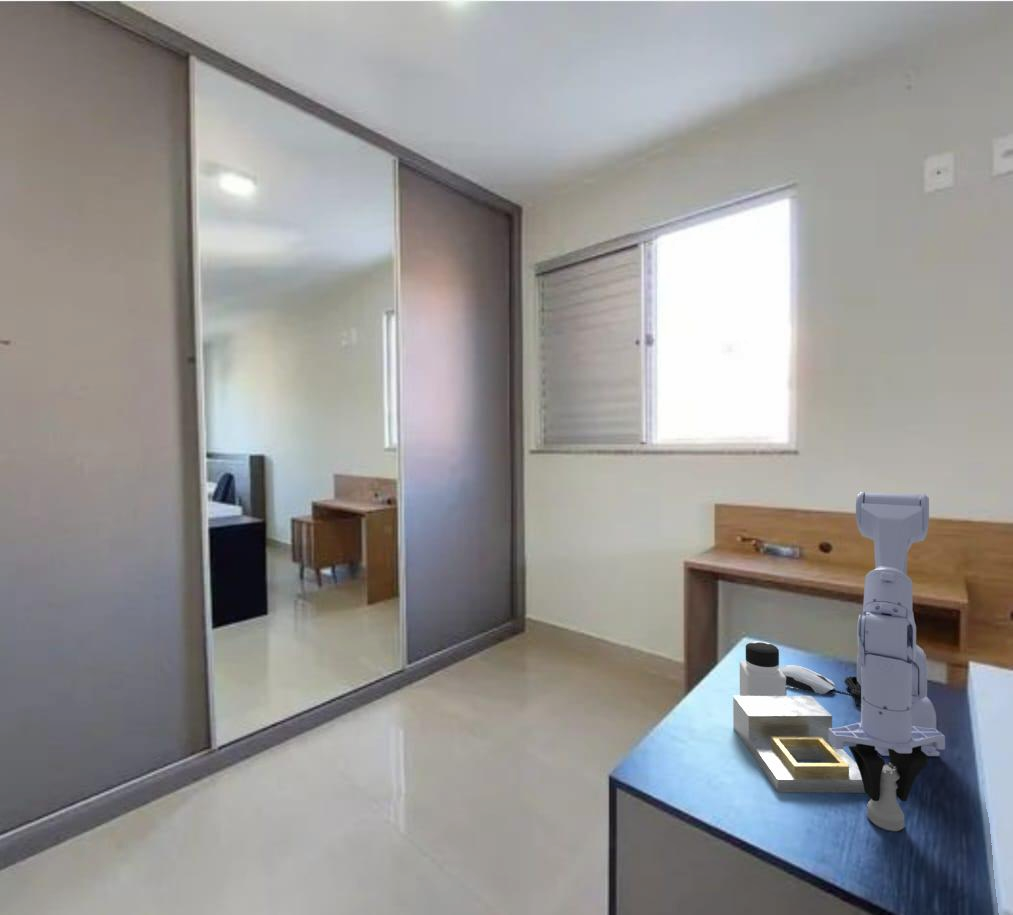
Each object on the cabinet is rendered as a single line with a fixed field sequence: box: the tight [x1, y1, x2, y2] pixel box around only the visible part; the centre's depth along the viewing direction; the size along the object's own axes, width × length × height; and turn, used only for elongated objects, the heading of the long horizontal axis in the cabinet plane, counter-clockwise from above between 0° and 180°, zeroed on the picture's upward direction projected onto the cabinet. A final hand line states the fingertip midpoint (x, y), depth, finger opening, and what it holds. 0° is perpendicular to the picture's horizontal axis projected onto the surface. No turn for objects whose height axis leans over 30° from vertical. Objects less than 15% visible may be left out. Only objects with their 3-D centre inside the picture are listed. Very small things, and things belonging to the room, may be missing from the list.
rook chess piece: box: [865, 762, 906, 832], centre depth 75 cm, size 4×4×8 cm
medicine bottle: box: [739, 640, 787, 696], centre depth 108 cm, size 7×7×12 cm
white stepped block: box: [732, 695, 866, 794], centre depth 90 cm, size 14×18×6 cm
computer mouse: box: [779, 664, 861, 707], centre depth 114 cm, size 10×18×4 cm, turn 57°
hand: (885, 796), depth 75 cm, fingers closed on rook chess piece, 3 cm apart
